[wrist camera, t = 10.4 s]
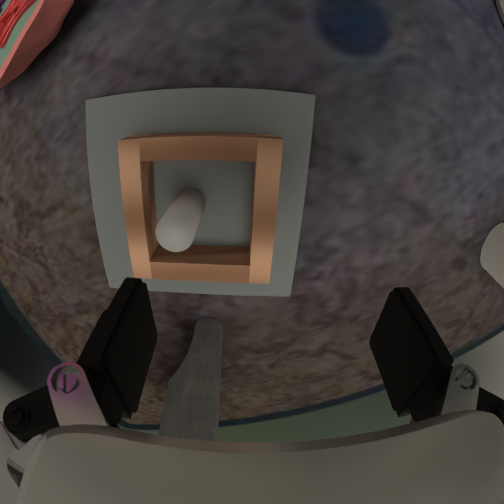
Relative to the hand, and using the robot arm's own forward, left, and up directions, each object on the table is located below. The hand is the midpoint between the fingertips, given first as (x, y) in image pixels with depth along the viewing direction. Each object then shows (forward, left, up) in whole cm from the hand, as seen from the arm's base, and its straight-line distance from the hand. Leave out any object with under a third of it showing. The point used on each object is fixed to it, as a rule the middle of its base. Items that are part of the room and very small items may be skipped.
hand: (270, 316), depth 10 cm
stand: (0, -5, -15) cm, 16 cm away
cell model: (-21, -22, -15) cm, 34 cm away
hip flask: (+21, -6, -15) cm, 27 cm away
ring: (0, -4, -13) cm, 14 cm away
